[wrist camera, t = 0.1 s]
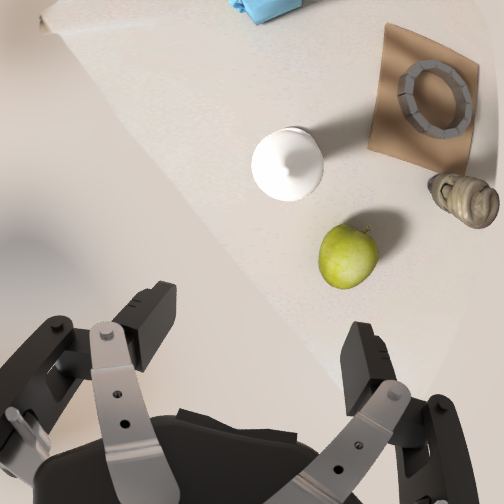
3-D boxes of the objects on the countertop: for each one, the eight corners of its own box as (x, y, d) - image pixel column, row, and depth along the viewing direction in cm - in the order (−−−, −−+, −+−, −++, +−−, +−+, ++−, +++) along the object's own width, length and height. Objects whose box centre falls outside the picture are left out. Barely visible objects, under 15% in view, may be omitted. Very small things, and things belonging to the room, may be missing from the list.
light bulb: (414, 202, 36) (466, 235, 23) (414, 165, 35) (470, 181, 21) (446, 202, 35) (502, 234, 22) (446, 166, 34) (507, 184, 20)
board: (385, 25, 27) (386, 22, 26) (474, 65, 26) (477, 64, 25) (367, 149, 35) (369, 149, 34) (459, 181, 34) (462, 182, 33)
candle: (322, 134, 35) (368, 121, 12) (312, 184, 38) (336, 251, 15) (270, 123, 36) (229, 92, 13) (261, 173, 39) (208, 223, 16)
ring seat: (401, 53, 28) (408, 48, 25) (464, 82, 27) (474, 79, 24) (392, 123, 32) (399, 122, 29) (456, 148, 31) (466, 149, 29)
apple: (380, 226, 39) (397, 245, 31) (353, 278, 42) (363, 306, 35) (332, 205, 39) (340, 220, 31) (307, 261, 42) (309, 287, 35)
